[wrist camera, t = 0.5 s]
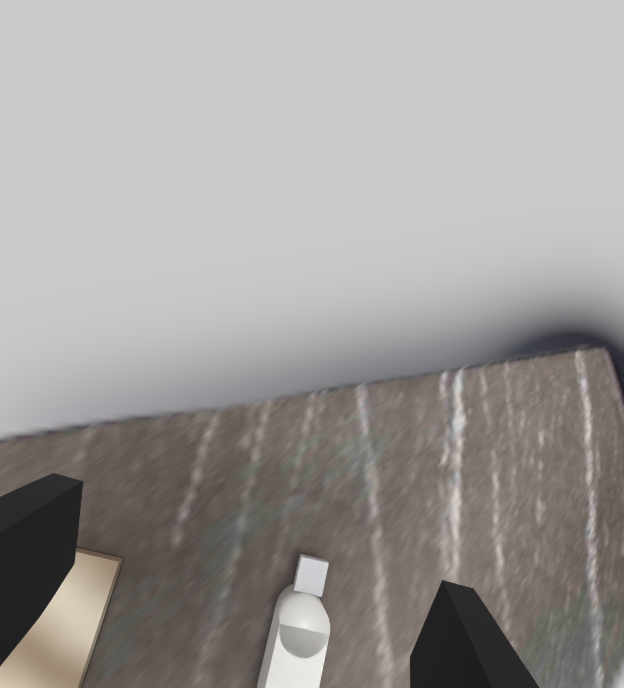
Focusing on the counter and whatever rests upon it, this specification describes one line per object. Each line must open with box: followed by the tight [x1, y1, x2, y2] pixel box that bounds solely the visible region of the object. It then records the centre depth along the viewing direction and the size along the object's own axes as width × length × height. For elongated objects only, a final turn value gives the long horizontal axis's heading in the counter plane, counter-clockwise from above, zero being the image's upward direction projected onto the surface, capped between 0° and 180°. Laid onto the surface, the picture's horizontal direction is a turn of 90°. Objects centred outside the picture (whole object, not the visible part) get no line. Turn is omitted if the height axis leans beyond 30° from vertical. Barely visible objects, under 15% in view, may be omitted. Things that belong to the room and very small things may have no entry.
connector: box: [257, 554, 330, 688], centre depth 28 cm, size 10×3×4 cm, turn 166°
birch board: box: [0, 548, 123, 688], centre depth 27 cm, size 12×10×1 cm
